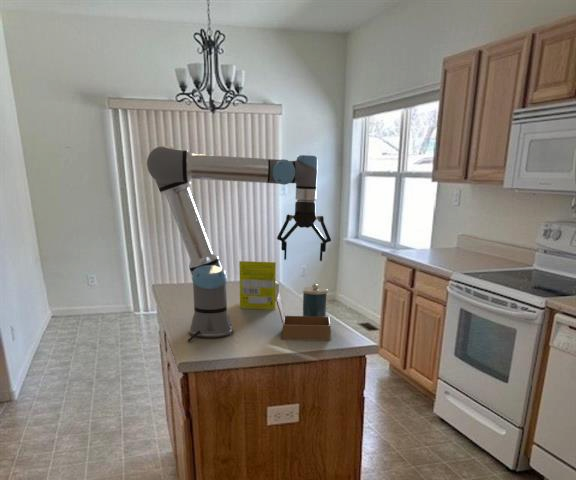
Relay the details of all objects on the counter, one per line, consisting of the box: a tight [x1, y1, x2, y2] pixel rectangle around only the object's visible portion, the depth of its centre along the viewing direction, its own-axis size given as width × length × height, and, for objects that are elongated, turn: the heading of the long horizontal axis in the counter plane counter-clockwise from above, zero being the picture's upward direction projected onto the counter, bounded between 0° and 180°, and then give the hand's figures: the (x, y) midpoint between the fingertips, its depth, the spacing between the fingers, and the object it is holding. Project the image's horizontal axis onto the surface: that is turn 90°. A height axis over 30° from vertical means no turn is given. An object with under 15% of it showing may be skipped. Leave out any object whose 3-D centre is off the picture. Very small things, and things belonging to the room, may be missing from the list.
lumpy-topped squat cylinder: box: [275, 280, 280, 301], centre depth 248 cm, size 10×13×9 cm
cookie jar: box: [302, 283, 329, 317], centre depth 205 cm, size 10×10×16 cm
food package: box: [238, 260, 277, 310], centre depth 227 cm, size 15×1×20 cm, turn 84°
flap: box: [275, 292, 286, 324], centre depth 192 cm, size 8×13×1 cm
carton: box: [282, 315, 331, 341], centre depth 194 cm, size 17×13×5 cm
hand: (303, 260), depth 203 cm, fingers open, 13 cm apart
